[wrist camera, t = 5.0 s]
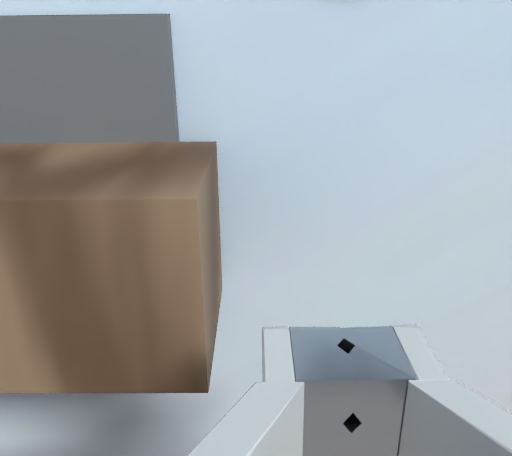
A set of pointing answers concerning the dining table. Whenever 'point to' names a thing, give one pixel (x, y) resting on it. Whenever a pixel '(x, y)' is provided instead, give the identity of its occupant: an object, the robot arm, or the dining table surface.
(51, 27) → the charcoal mat
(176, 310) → the brown rectangular block
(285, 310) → the dining table surface
